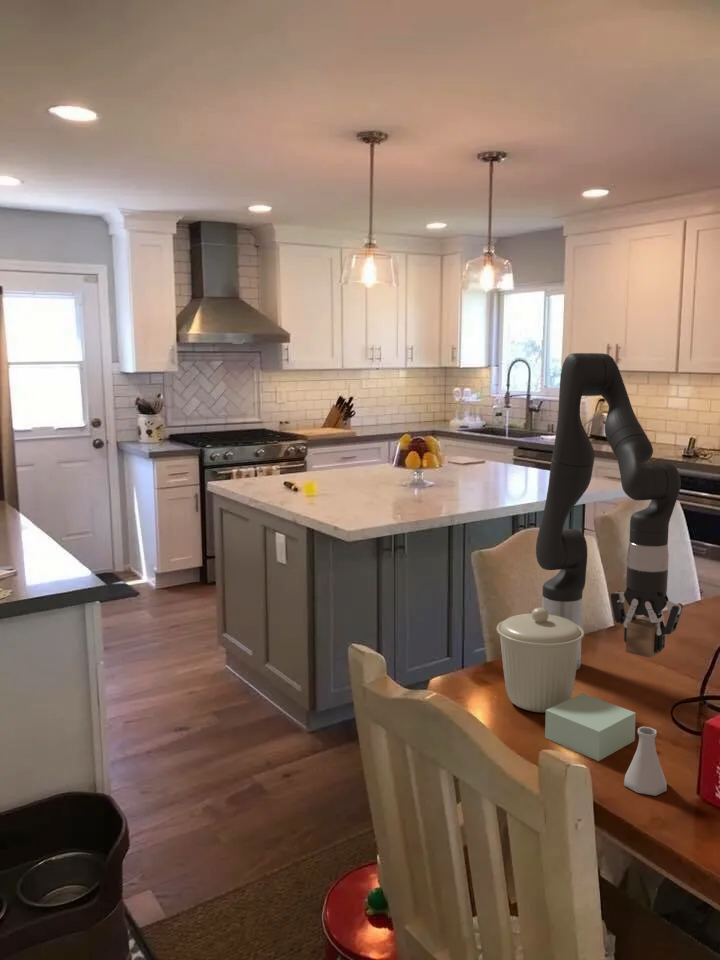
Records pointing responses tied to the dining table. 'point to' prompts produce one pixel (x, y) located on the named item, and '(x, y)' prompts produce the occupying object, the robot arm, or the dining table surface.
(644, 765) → the flask
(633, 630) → the walnut block
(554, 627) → the canister
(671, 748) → the dining table surface
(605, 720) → the sage box
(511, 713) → the dining table surface
